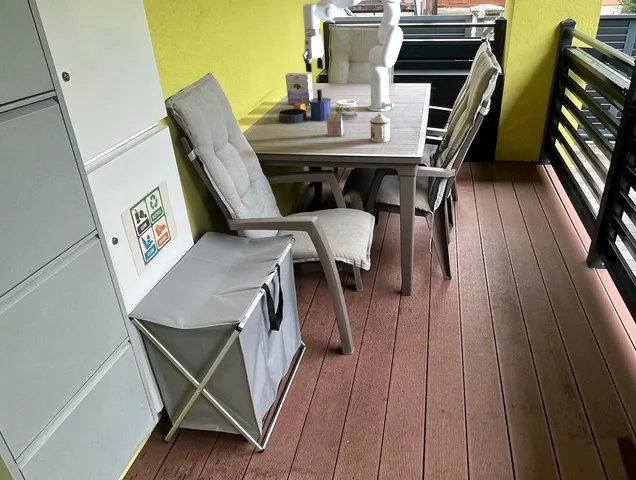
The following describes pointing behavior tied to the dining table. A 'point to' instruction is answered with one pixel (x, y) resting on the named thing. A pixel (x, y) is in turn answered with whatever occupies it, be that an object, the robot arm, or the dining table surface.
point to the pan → (292, 116)
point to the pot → (320, 111)
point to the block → (300, 106)
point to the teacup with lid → (380, 129)
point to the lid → (319, 98)
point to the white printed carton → (334, 125)
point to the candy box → (299, 88)
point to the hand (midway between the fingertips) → (314, 70)
